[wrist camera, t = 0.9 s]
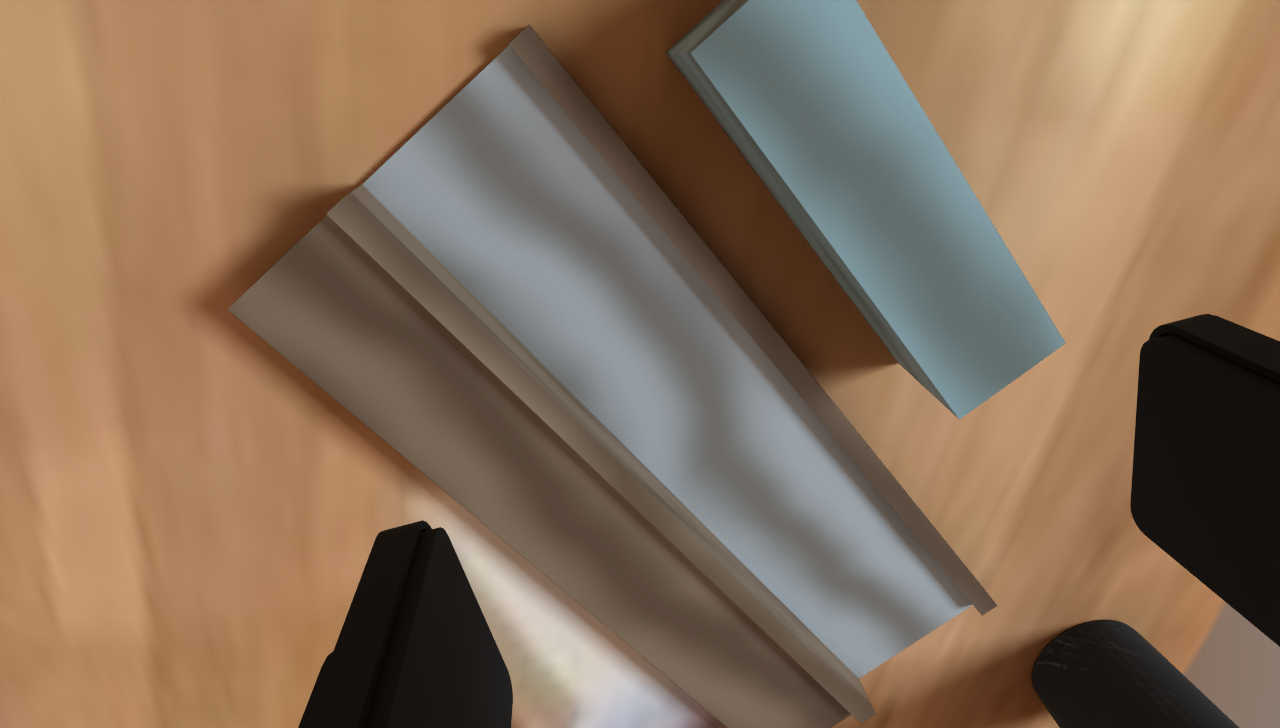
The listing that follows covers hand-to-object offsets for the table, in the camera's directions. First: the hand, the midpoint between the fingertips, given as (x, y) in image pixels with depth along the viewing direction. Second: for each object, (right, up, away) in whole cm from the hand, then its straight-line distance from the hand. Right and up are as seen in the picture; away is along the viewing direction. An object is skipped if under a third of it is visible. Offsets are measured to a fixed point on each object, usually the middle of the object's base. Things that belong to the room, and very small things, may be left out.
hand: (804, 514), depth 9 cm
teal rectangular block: (+6, +10, +22) cm, 24 cm away
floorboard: (0, -3, +26) cm, 26 cm away
